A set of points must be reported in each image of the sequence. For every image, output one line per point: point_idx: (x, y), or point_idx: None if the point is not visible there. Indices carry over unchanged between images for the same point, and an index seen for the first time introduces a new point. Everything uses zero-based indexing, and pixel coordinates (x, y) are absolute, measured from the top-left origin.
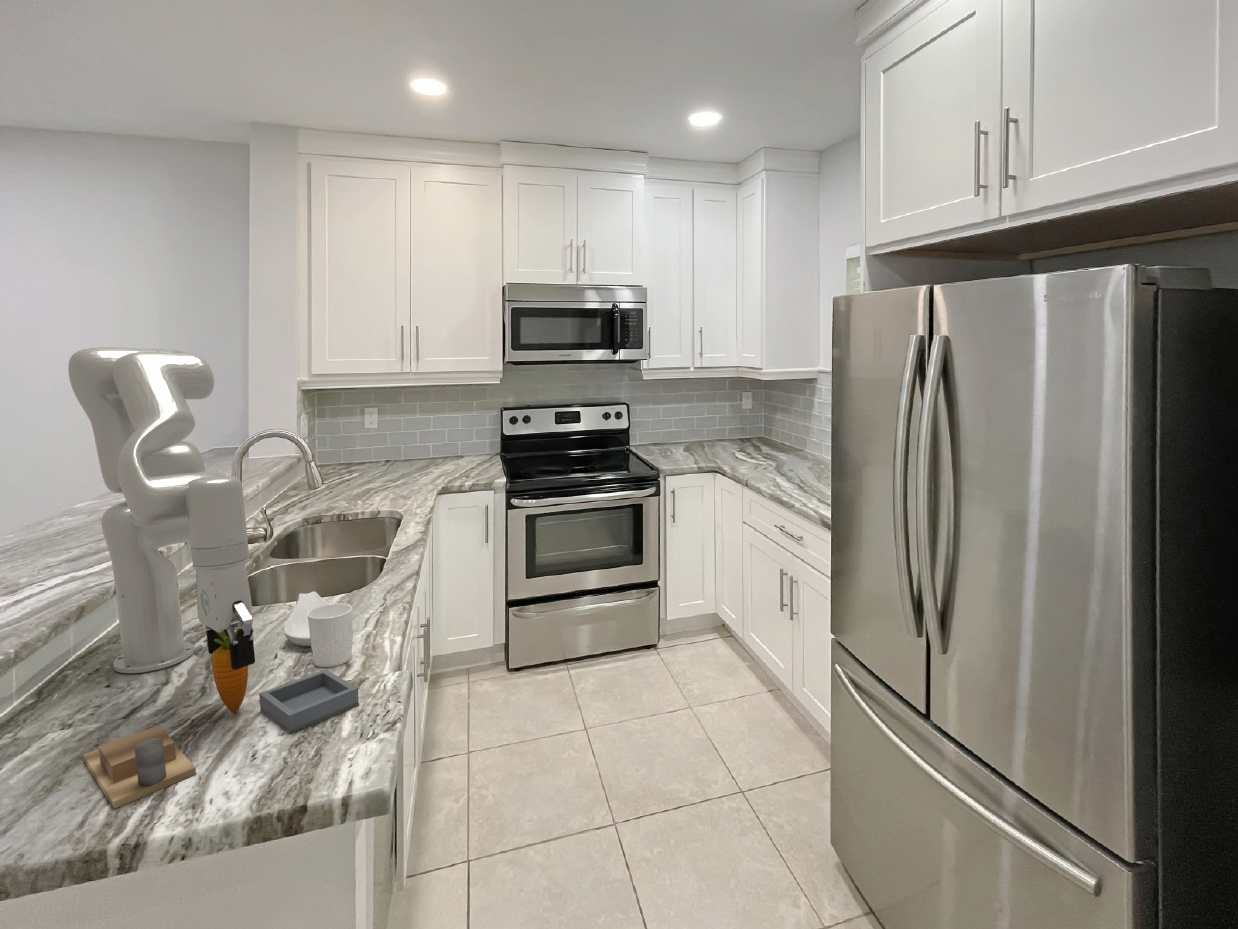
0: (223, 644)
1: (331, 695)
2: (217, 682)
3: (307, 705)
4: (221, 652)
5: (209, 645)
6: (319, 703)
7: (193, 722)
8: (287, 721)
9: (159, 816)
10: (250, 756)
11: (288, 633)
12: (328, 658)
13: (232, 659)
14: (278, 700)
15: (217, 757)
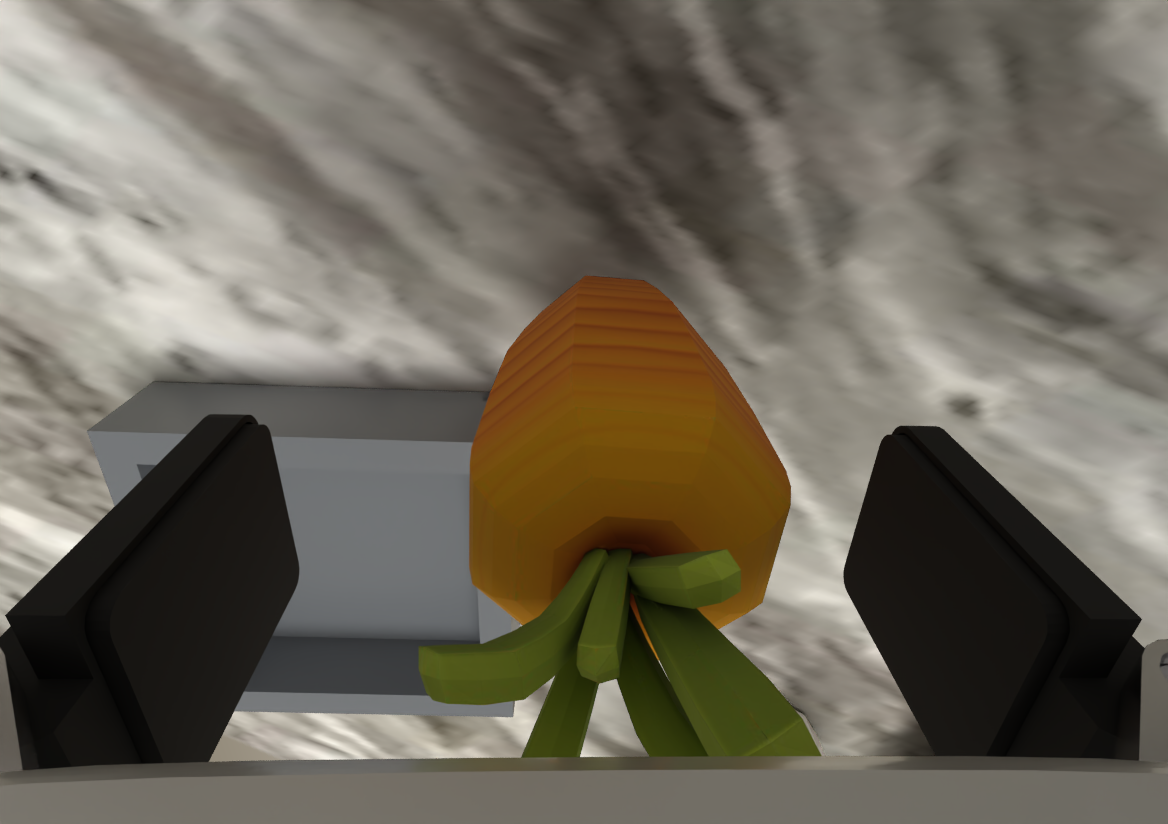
0: (636, 574)
1: (368, 622)
2: (579, 297)
3: None
4: (558, 484)
5: (953, 482)
6: None
7: (698, 105)
8: (144, 410)
9: None
10: (38, 165)
11: None
12: None
13: (150, 479)
14: (327, 469)
15: (139, 33)
